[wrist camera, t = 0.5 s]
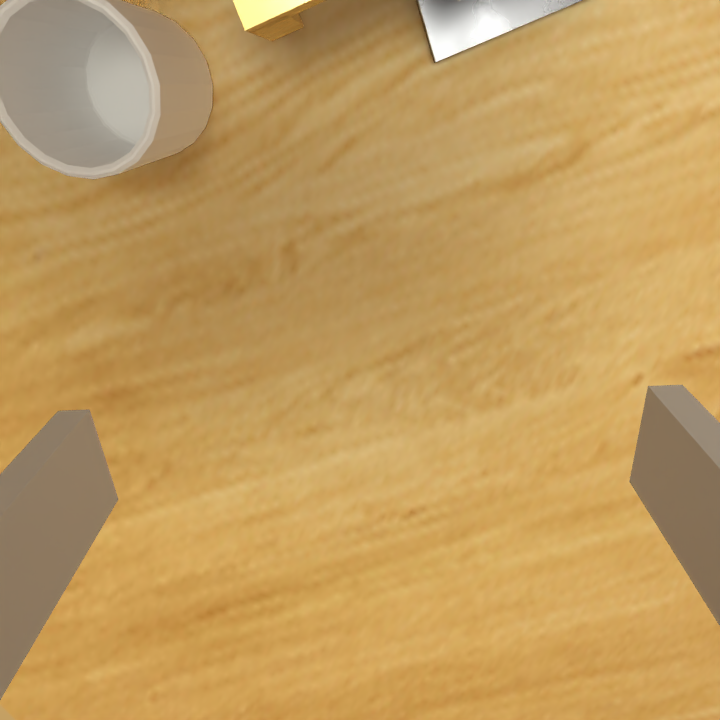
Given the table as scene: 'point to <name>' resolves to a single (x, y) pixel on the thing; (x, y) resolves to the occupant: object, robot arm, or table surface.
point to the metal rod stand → (438, 12)
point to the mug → (99, 84)
